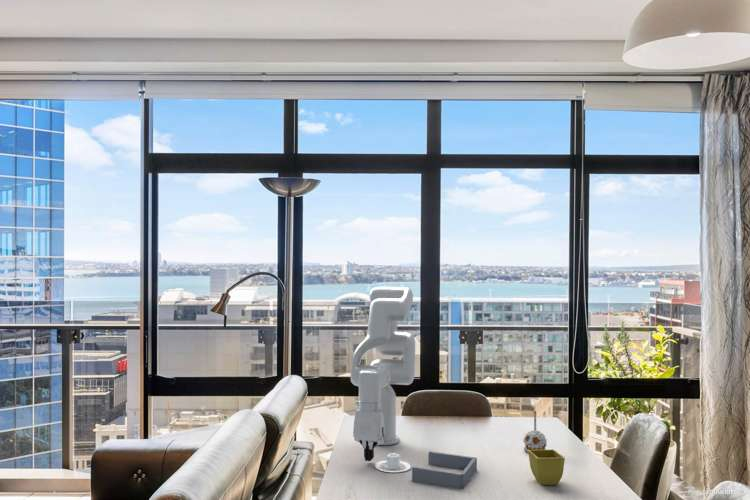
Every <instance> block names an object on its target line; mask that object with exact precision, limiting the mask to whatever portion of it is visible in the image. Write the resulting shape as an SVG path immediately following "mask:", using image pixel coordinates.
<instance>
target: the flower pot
mask: <svg viewBox="0 0 750 500" xmlns="http://www.w3.org/2000/svg"><path fill="white" fill-rule="evenodd" d="M527 454H528V461H529V466H530V470H531V473H532V474H533V477H534V479H535V481H537V482H538V483H539V484H540V485H541V486H556V485H558V484H559V483H560V481H561V480H562V478H563V475H564V469H565V461H566V460H565V459H566V458H565V457H564V456H563V455H562V454H561V453H559V452H558V451H557V450H555V449H553V448H552V449H546V450H528V452H527Z"/></svg>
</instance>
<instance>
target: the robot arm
mask: <svg viewBox="0 0 750 500" xmlns="http://www.w3.org/2000/svg"><path fill="white" fill-rule="evenodd" d="M369 301H370V306H369V313H368V322H367V334H366V336H365V339H363V340H362V342H360V343H359V344H358V346H357V347H356V348H355V350H354V352H353V356H352V359H351V366H350V382H351V383H352V385H354V386H356V387H358V400H356V401H355V403H354V404H355V405H356V406H357V407H358V408H357V409H355V410H356V411H355V413H354V419H353V420H354V421H353V429H352V430H353V431H352V433H353V435H352V436H353V438H354V439H353V440H354V441H355V442H357V443H360V445H361V446H362V449H363V457H364V461H365V462H371V461H373V459H374V457H375V456H374V455H375V448H376V447H377V446H393V445H396V444H398V443H400V440H401V439H400V437H399V435H397V434H396V433H397V432H396V431H397V427H396V426H397V425H396V424H397V395H396V392H395V390H394V388H393V387H392V386H391V385H400V386H401V385H402V386H404V385H405V386H409V385H411V384H412V383H413V381H414V380H415V371H416V369H415V368H416V366H415V365H416V339H415V336H414V334H413V333H411V332H407V331H398V323H399V322H403V321H406V320H407V319H408V317H409V314H410V312H411V309H412V305H413V301H414V293H413V291H412V290H411V288H410V287H403V286H377V287H373V288H371V290H370V291H369ZM373 349H375V352H376V353H377V355H380V356H387V357H388V356H389V357H402V358H403V359H393V358H379V359H375V360H373V361H372V362H371V363H370V365H369V364H367V365H365V364H361V362H362V359H363V358H364V356H365V355H366V354H367V353H368V352H369V351H371V350H373Z"/></svg>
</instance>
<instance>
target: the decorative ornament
mask: <svg viewBox="0 0 750 500" xmlns="http://www.w3.org/2000/svg"><path fill="white" fill-rule="evenodd" d="M533 421H534V422H533V426H534V427H533V428H534V429H533V430H532V429H531V430H530V431H527V432H526V433H525V436H524V437H523V443H524V446H525V447H524V448H523V451H524V452H527V453H528V450H547V449H546V447H547V438H546V435H545V434H544V433H543V432H541V431H540V430H537V410H534V411H533Z"/></svg>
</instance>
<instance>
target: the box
mask: <svg viewBox="0 0 750 500" xmlns="http://www.w3.org/2000/svg"><path fill="white" fill-rule="evenodd" d="M427 453H428V461H427V462H428V465H434V466H439V467H448V468H455V469H462V471H461V473H459V472H452V471H451V472H450V471H445V470H439V469H438V470H437V469H433V468H425V467H417V466H412V467H411V481H414V482H421V483H426V484H430V485H431V484H433V485H439V486H445V487H449V488H450V487H451V488H455V489H456V488H457V489H462V490H463V489H465V487H467V484H469V482H470V480H471V478H472V477H473V476H474V474H475V473H476V471H477V467H478V466H477V465H478V464H477V463H478V458H477V457H473V456H467V455H461V454H459V455H458V454H452V453H444V452H438V451H431V450H429V451H428V452H427Z"/></svg>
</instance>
